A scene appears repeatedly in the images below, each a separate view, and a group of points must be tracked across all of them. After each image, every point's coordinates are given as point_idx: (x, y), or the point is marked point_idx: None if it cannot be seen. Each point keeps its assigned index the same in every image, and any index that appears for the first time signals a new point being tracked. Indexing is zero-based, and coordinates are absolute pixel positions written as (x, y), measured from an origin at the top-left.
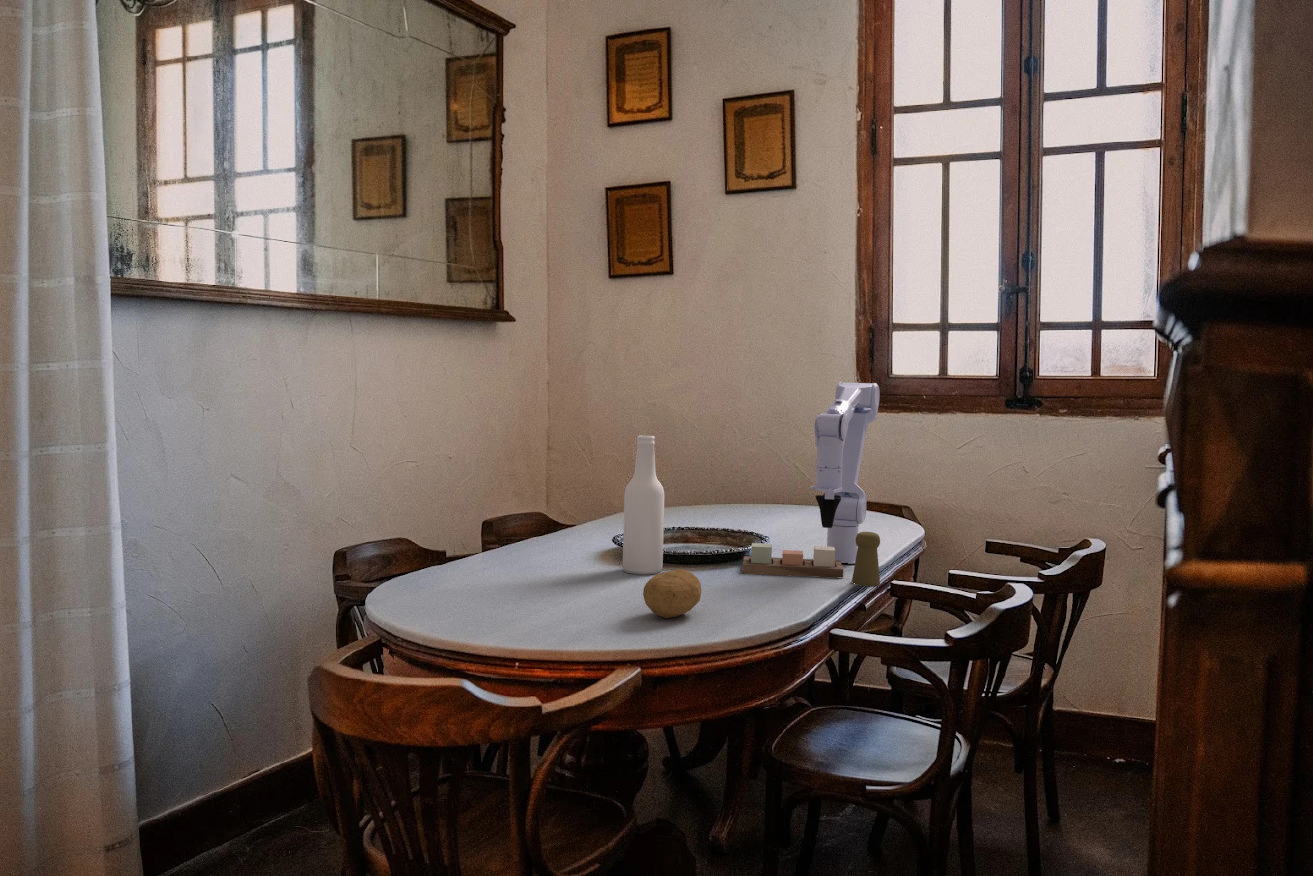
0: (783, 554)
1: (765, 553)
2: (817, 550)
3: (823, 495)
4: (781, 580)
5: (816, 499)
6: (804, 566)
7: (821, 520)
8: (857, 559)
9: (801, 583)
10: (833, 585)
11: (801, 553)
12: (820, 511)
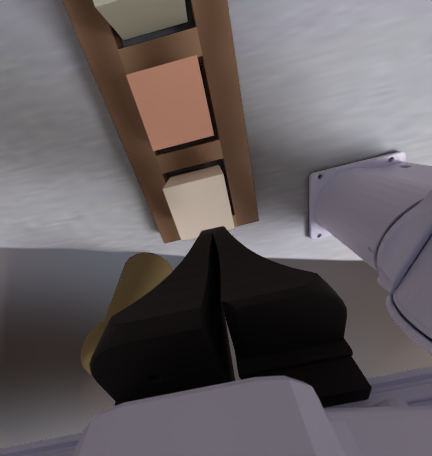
0: (128, 78)
1: None
2: (165, 196)
3: (259, 369)
4: (50, 111)
5: (108, 323)
6: (140, 157)
7: (196, 241)
8: (116, 294)
9: (57, 168)
10: (90, 230)
11: (167, 142)
12: (176, 268)
